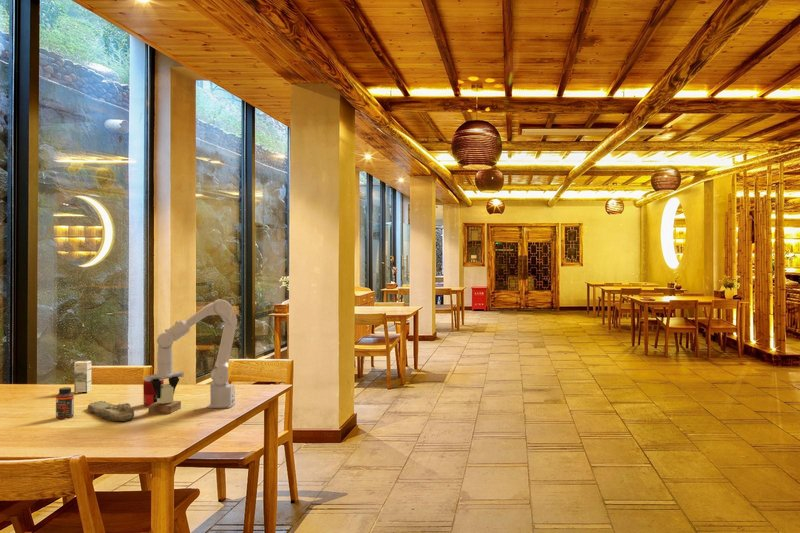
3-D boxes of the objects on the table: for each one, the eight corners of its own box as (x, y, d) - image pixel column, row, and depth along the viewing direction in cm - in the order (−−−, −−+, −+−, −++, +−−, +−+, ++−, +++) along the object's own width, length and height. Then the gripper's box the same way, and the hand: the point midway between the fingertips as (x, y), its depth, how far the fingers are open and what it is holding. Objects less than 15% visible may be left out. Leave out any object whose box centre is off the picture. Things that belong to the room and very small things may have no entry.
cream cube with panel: (168, 400, 239) (168, 383, 239) (173, 402, 235) (173, 385, 235) (157, 401, 235) (157, 384, 235) (161, 403, 232) (161, 386, 232)
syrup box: (91, 390, 278) (91, 360, 278) (86, 393, 272) (87, 361, 273) (79, 391, 277) (79, 360, 278) (73, 393, 272) (73, 362, 272)
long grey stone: (107, 409, 246) (81, 415, 239) (106, 397, 246) (80, 402, 239) (141, 418, 222) (114, 425, 215) (140, 404, 222) (113, 410, 215)
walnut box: (180, 409, 240) (180, 401, 240) (170, 414, 231) (170, 405, 231) (159, 409, 240) (159, 400, 240) (148, 414, 231) (148, 405, 231)
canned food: (156, 406, 243) (156, 380, 243) (139, 406, 245) (139, 379, 245) (167, 403, 251) (167, 377, 251) (150, 402, 252) (150, 376, 252)
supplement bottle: (55, 420, 221) (55, 390, 222) (56, 417, 227) (56, 387, 227) (73, 418, 224) (73, 388, 224) (73, 415, 229) (74, 386, 230)
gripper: (150, 365, 228) (150, 401, 228) (186, 362, 238) (186, 395, 238) (143, 364, 233) (143, 398, 233) (179, 360, 243) (179, 393, 243)
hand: (164, 397), depth 236 cm, fingers open, 5 cm apart
